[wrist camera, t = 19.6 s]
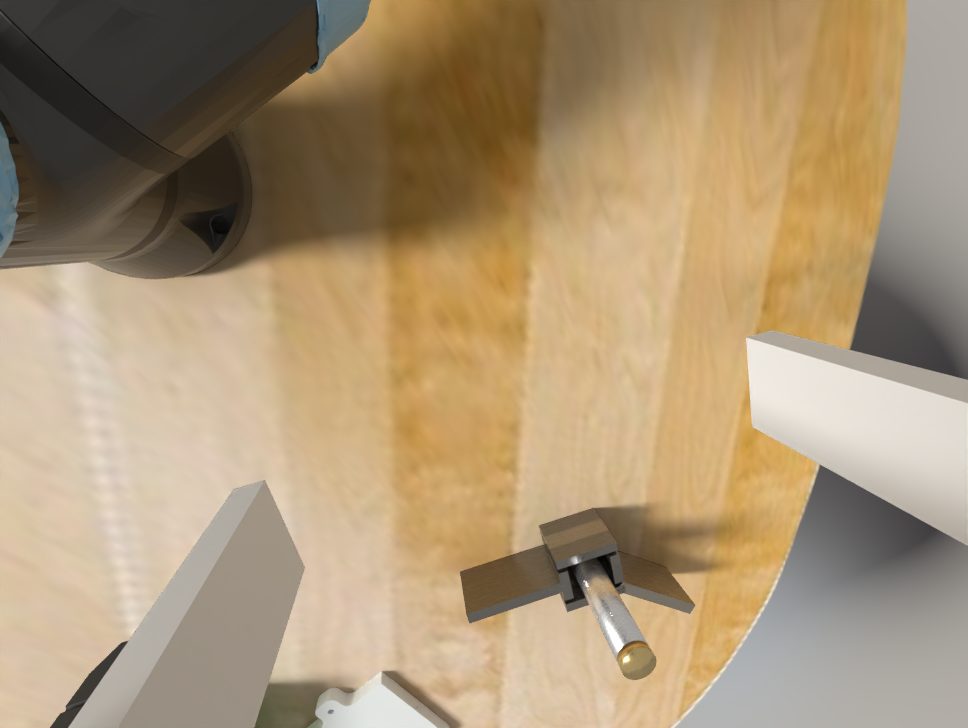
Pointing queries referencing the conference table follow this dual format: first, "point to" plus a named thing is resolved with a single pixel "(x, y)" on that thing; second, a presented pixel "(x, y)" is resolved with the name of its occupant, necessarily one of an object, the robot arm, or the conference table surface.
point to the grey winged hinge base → (566, 571)
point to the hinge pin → (615, 620)
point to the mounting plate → (374, 708)
